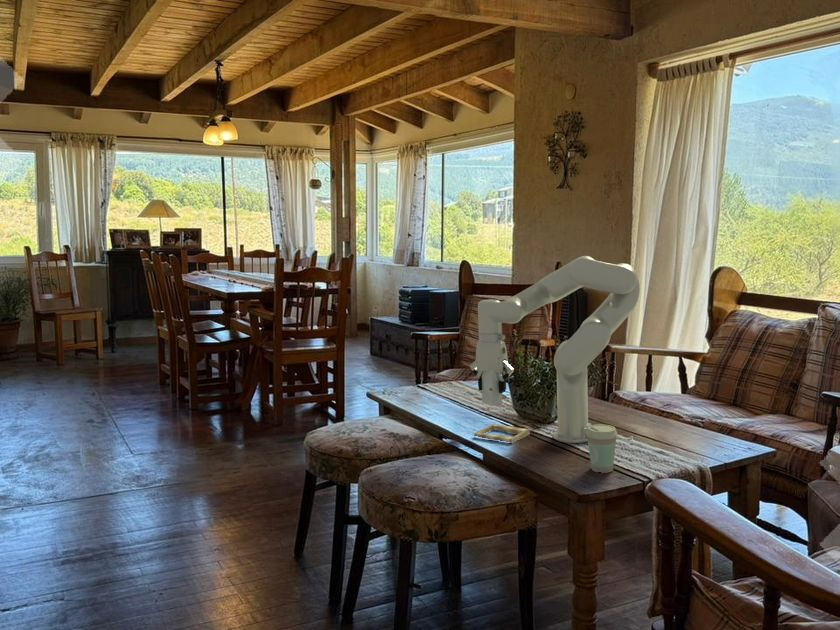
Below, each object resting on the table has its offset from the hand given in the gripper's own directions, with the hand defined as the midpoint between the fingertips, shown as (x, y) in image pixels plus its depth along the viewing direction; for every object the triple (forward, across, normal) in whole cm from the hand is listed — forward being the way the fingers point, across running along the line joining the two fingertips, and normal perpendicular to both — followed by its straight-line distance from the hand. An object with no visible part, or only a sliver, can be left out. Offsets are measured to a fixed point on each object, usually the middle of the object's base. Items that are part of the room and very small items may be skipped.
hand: (492, 390), depth 237 cm
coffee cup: (+15, -43, +14) cm, 48 cm away
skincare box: (+5, 0, 0) cm, 5 cm away
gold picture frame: (+15, -3, 0) cm, 15 cm away
